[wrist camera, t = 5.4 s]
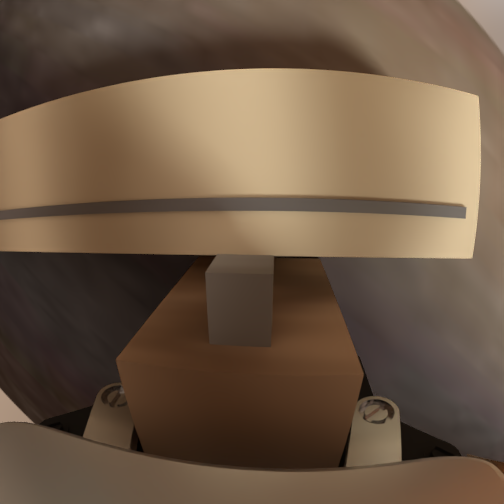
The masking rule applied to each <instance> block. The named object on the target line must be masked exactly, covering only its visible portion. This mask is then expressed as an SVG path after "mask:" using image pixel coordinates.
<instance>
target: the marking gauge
mask: <svg viewBox="0 0 504 504" xmlns="http://www.w3.org/2000/svg"><path fill="white" fill-rule="evenodd" d="M116 363H117V367H118V371H119V375H120V378H121V382H122V386H123V389H124V393H125V396H126V400H127V403H128V406H129V410H130V413H131V416H132V419H133V422H134V425H135V428H136V431H137V434H138V437H139V440H140V443H141V445H142V448H143V451H144V453H147V454H152V455H157V456H162V457H168V458H174V459H180V460H186V461H193V462H200V463H208V464H216V465H226V466H237V467H252V468H276V469H315V468H337V467H338V466H339V463H340V460H341V457H342V453H343V450H344V447H345V444H346V440H347V437H348V434H349V430H350V427H351V423H352V420H353V416H354V412H355V408H356V405H357V401H358V397H359V393H360V389H361V384H362V380H363V376H364V373H363V370H362V367H361V365H360V362H359V359H358V356H357V353H356V351H355V348H354V345H353V343H352V340H351V337H350V334H349V332H348V329H347V326H346V324H345V321H344V319H343V316H342V313H341V311H340V308H339V306H338V303H337V300H336V298H335V295H334V293H333V290H332V288H331V285H330V283H329V280H328V278H327V275H326V273H325V270H324V268H323V266H322V263H321V261H320V259H312V258H274V255H236V254H217V255H216V256H199V257H198V258H197V260H196V261H195V262H194V263H193V264H192V266H191V267H190V268H189V269H188V270H187V272H186V273H185V274H184V275H183V276H182V278H181V279H180V280H179V281H178V282H177V284H176V285H175V286H174V287H173V289H172V290H171V291H170V292H169V293H168V295H167V296H166V297H165V298H164V300H163V301H162V302H161V303H160V304H159V306H158V307H157V308H156V309H155V311H154V312H153V313H152V314H151V316H150V317H149V318H148V319H147V321H146V322H145V323H144V324H143V326H142V327H141V328H140V329H139V331H138V332H137V333H136V334H135V336H134V337H133V338H132V339H131V341H130V342H129V343H128V344H127V346H126V347H125V348H124V350H123V351H122V352H121V353H120V355H119V356H118V357H117V358H116Z"/></svg>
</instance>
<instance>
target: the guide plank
mask: <svg viewBox="0 0 504 504" xmlns="http://www.w3.org/2000/svg"><path fill="white" fill-rule="evenodd" d="M480 170H481V134H480V112H479V99H478V96H477V95H473V94H469V93H466V92H462V91H458V90H454V89H450V88H446V87H441V86H437V85H432V84H427V83H422V82H417V81H412V80H406V79H400V78H394V77H388V76H381V75H373V74H365V73H356V72H345V71H333V70H317V69H289V68H261V69H233V70H217V71H205V72H194V73H185V74H176V75H169V76H162V77H155V78H149V79H143V80H137V81H131V82H126V83H121V84H116V85H111V86H107V87H102V88H98V89H94V90H90V91H85V92H82V93H78V94H74V95H70V96H67V97H63V98H60V99H56V100H53V101H50V102H47V103H43V104H40V105H37V106H34V107H31V108H28V109H26V110H23V111H20V112H17V113H14V114H12V115H9V116H7V117H4V118H1V119H0V251H21V252H68V253H120V254H176V255H217V254H236V255H274V256H306V257H387V258H472V256H473V249H474V242H475V235H476V227H477V217H478V206H479V192H480Z"/></svg>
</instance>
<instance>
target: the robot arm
mask: <svg viewBox="0 0 504 504" xmlns="http://www.w3.org/2000/svg"><path fill="white" fill-rule="evenodd" d="M358 359H359V362H360V365H361V367H362V370H363V373H364V376H363V380H362V384H361V389H360V393H359V397H358V401H357V405H356V408H355V412H354V416H353V420H352V423H351V427H350V430H349V434H348V437H347V440H346V444H345V447H344V450H343V453H342V457H341V460H340V463H339V466H338V467H337V468H315V469H276V468H252V467H237V466H226V465H216V464H208V463H200V462H193V461H186V460H180V459H174V458H168V457H162V456H157V455H152V454H147V453H144V451H143V448H142V445H141V443H140V440H139V437H138V434H137V431H136V428H135V425H134V422H133V419H132V416H131V413H130V410H129V406H128V403H127V400H126V396H125V393H124V389H123V386H122V382H121V383H113V384H109V385H107V386H105V387H103V388H102V389H101V390H100V391H99V392H98V394H97V396H96V399H95V402H94V405H93V406H90V407H87V408H84V409H80V410H77V411H74V412H70V413H67V414H63V415H60V416H56V417H53V418H49V419H47V420H44V421H43V422H41V423H40V424H33V423H27V422H5V423H0V504H504V462H499V461H495V460H490V459H486V458H481V457H477V456H473V455H469V454H467V455H466V457H462V456H461V455H460V453H459V451H458V450H457V449H456V448H455V447H454V446H453V445H451V444H449V443H447V442H445V441H442V440H440V439H438V438H435V437H433V436H431V435H428V434H426V433H424V432H422V431H419V430H417V429H415V428H413V427H411V426H408V425H406V424H404V423H402V422H400V412H399V409H398V407H397V406H396V404H395V403H394V402H392V401H391V400H389V399H387V398H384V397H379V396H373V394H372V391H371V388H370V385H369V382H368V379H367V377H366V374H365V371H364V368H363V366H362V363H361V360H360V358H359V356H358Z"/></svg>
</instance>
